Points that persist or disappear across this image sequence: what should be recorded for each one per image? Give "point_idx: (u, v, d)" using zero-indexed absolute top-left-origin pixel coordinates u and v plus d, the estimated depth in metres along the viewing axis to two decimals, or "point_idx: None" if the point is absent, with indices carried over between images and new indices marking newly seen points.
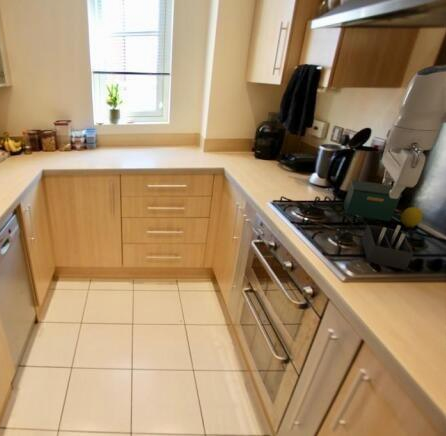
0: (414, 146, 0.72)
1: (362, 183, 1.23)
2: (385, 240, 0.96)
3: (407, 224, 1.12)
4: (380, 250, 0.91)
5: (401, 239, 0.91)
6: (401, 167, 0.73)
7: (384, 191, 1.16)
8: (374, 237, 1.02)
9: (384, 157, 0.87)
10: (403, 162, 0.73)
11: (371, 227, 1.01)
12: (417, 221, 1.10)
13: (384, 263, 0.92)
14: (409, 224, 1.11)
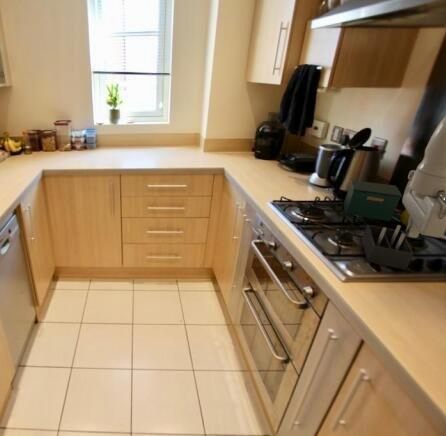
0: (441, 195, 0.69)
1: (362, 183, 1.23)
2: (385, 240, 0.96)
3: (407, 224, 1.12)
4: (380, 250, 0.91)
5: (401, 239, 0.91)
6: (427, 216, 0.70)
7: (384, 191, 1.16)
8: (374, 237, 1.02)
9: (405, 198, 0.84)
10: (429, 212, 0.69)
11: (371, 227, 1.01)
12: None
13: (384, 263, 0.92)
14: None
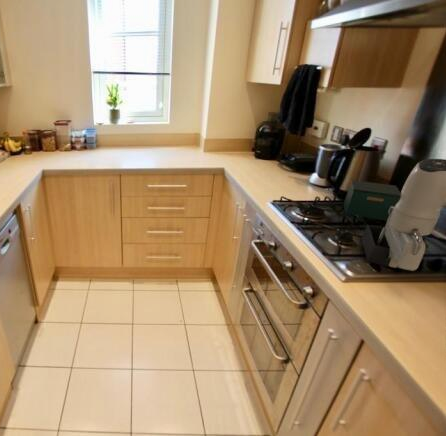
0: (415, 233, 0.78)
1: (362, 183, 1.23)
2: (385, 240, 0.96)
3: None
4: (380, 250, 0.91)
5: None
6: (403, 252, 0.79)
7: (384, 191, 1.16)
8: (374, 237, 1.02)
9: (386, 230, 0.93)
10: (404, 248, 0.78)
11: (371, 227, 1.01)
12: None
13: (384, 263, 0.92)
14: None
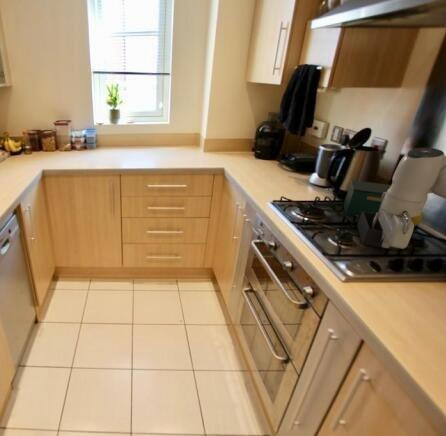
0: (404, 215, 0.86)
1: (362, 183, 1.23)
2: (378, 224, 1.05)
3: None
4: (374, 233, 0.99)
5: None
6: (394, 232, 0.87)
7: (384, 191, 1.16)
8: (368, 222, 1.11)
9: (379, 214, 1.01)
10: (395, 228, 0.87)
11: (366, 213, 1.10)
12: (417, 221, 1.10)
13: (377, 245, 1.00)
14: None
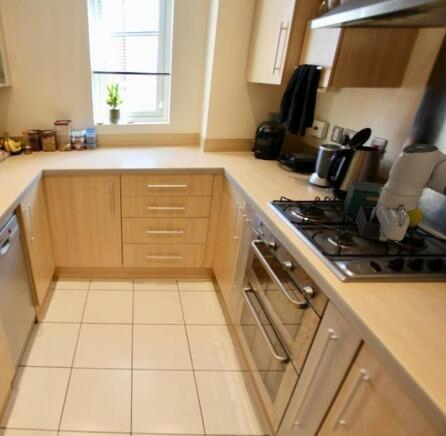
0: (401, 208, 0.90)
1: (362, 183, 1.23)
2: (376, 218, 1.08)
3: None
4: (372, 226, 1.03)
5: None
6: (390, 225, 0.91)
7: None
8: (366, 217, 1.14)
9: (377, 208, 1.05)
10: (392, 221, 0.90)
11: (364, 208, 1.13)
12: (417, 221, 1.10)
13: (375, 238, 1.04)
14: (409, 224, 1.11)
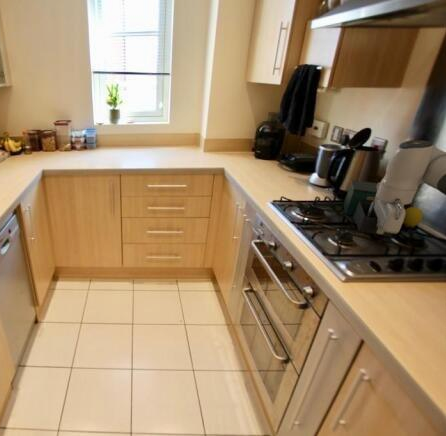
0: (397, 202, 0.93)
1: (362, 183, 1.23)
2: (374, 213, 1.12)
3: (407, 224, 1.12)
4: (370, 221, 1.06)
5: None
6: (387, 218, 0.94)
7: None
8: (365, 212, 1.18)
9: (375, 203, 1.08)
10: (388, 215, 0.93)
11: (362, 203, 1.17)
12: (417, 221, 1.10)
13: (373, 232, 1.07)
14: (409, 224, 1.11)
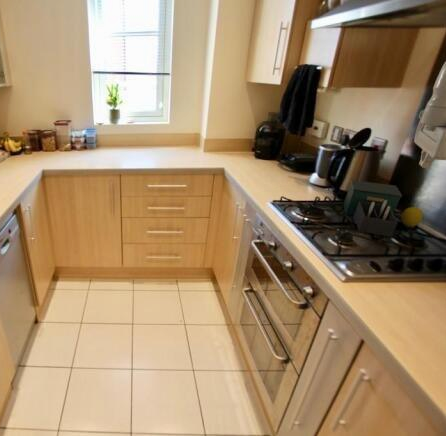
0: None
1: (362, 183, 1.23)
2: (374, 213, 1.12)
3: (407, 224, 1.12)
4: (370, 221, 1.06)
5: (387, 211, 1.06)
6: (438, 142, 0.81)
7: (384, 191, 1.16)
8: (365, 212, 1.18)
9: (417, 137, 0.95)
10: (440, 138, 0.80)
11: (362, 203, 1.17)
12: (417, 221, 1.10)
13: (373, 232, 1.07)
14: (409, 224, 1.11)
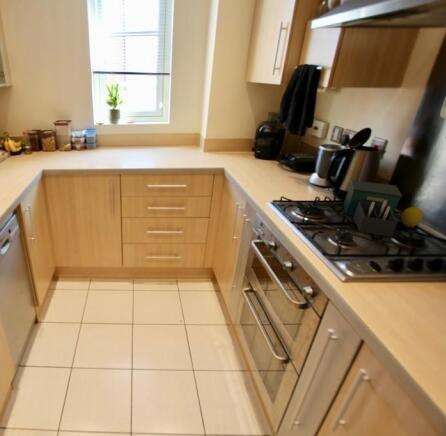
0: None
1: (362, 183, 1.23)
2: (374, 213, 1.12)
3: (407, 224, 1.12)
4: (370, 221, 1.06)
5: (387, 211, 1.06)
6: None
7: (384, 191, 1.16)
8: (365, 212, 1.18)
9: (443, 110, 0.93)
10: None
11: (362, 203, 1.17)
12: (417, 221, 1.10)
13: (373, 232, 1.07)
14: (409, 224, 1.11)
